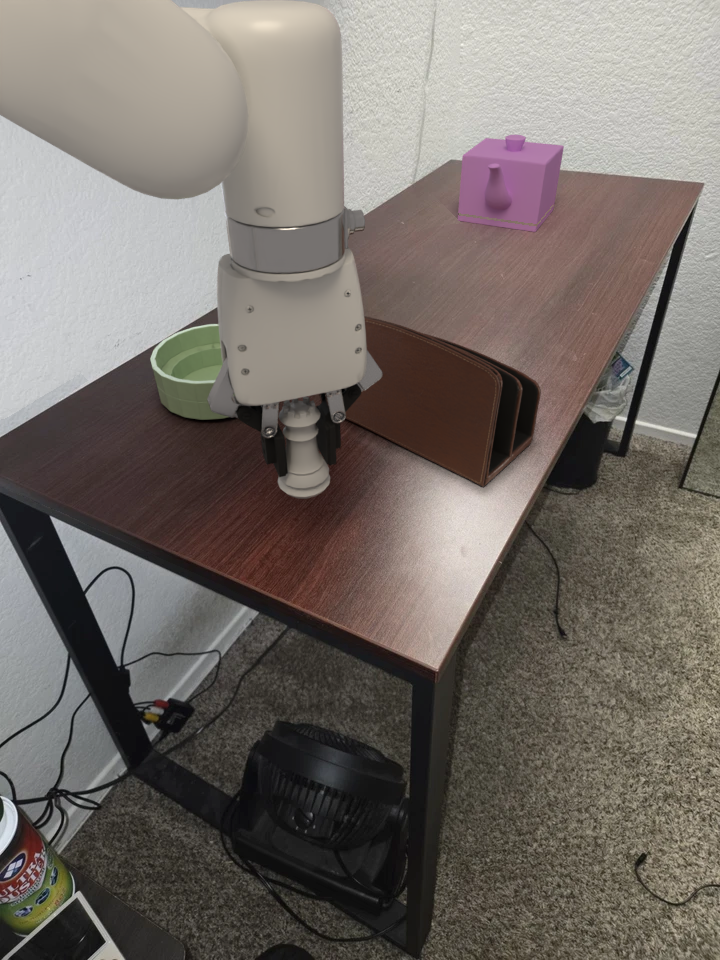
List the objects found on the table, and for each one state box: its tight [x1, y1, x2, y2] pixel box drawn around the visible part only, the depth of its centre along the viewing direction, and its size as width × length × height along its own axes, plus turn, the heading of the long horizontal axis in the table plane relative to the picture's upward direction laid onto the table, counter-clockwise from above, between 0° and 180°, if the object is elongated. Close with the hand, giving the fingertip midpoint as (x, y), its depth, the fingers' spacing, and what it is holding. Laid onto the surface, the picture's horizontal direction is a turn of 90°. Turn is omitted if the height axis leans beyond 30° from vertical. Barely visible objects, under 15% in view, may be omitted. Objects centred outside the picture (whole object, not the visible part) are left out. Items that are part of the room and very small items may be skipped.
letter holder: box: [344, 315, 542, 488], centre depth 70 cm, size 10×20×14 cm, turn 49°
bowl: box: [149, 323, 235, 421], centre depth 80 cm, size 14×14×6 cm
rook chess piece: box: [277, 396, 331, 500], centre depth 53 cm, size 4×4×8 cm
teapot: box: [457, 134, 565, 233], centre depth 122 cm, size 15×25×14 cm, turn 153°
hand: (302, 459), depth 54 cm, fingers closed on rook chess piece, 3 cm apart
